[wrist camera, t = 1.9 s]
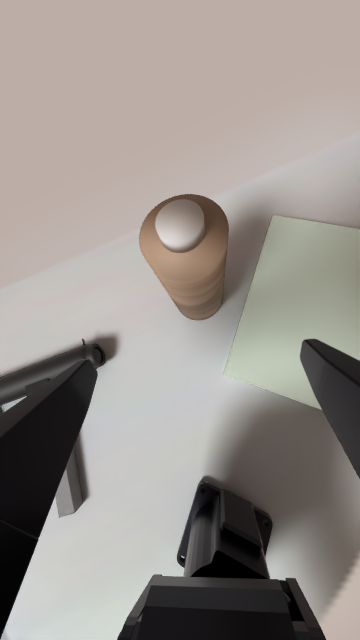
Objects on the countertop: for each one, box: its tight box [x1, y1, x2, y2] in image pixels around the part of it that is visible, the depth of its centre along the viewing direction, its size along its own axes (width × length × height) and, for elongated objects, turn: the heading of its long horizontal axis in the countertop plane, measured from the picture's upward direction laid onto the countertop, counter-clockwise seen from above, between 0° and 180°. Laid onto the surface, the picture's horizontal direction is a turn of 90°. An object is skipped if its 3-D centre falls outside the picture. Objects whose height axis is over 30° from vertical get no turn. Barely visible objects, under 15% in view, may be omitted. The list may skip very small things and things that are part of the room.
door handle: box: [0, 339, 105, 518], centre depth 21 cm, size 3×20×16 cm
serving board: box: [224, 215, 360, 410], centre depth 20 cm, size 18×12×1 cm, turn 160°
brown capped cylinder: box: [139, 194, 229, 320], centre depth 16 cm, size 5×5×12 cm
